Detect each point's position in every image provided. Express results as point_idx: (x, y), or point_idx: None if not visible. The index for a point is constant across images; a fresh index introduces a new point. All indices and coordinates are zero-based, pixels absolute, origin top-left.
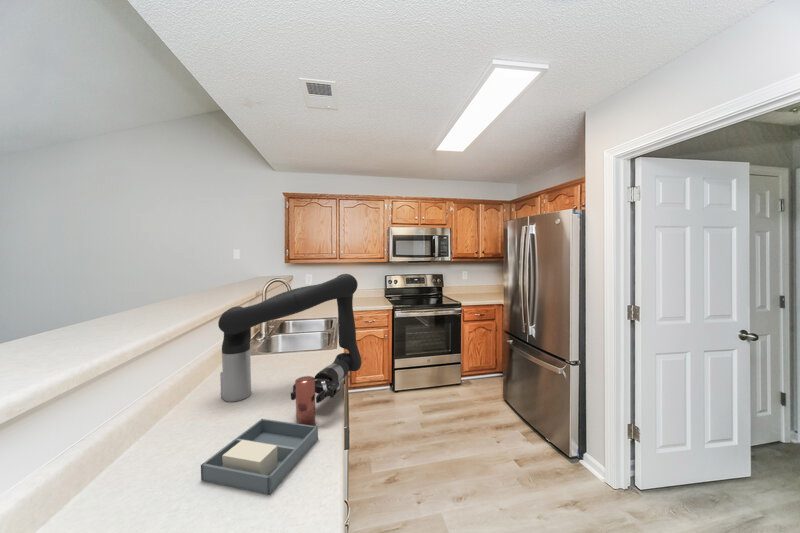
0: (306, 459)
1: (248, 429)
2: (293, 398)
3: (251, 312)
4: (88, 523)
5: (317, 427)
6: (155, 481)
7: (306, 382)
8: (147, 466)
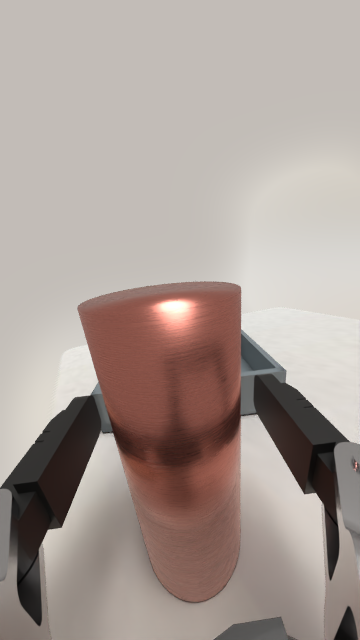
0: None
1: (255, 344)
2: (256, 402)
3: None
4: (256, 311)
5: (92, 395)
6: (275, 326)
7: (130, 290)
8: (320, 328)
